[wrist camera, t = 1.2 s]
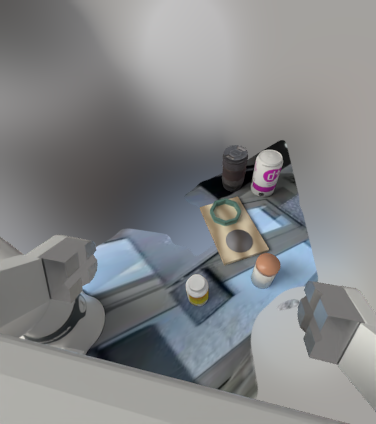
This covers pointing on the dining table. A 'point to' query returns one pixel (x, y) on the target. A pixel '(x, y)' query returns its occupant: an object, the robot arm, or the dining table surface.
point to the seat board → (233, 230)
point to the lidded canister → (265, 270)
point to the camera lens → (234, 167)
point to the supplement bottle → (197, 290)
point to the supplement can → (266, 172)
